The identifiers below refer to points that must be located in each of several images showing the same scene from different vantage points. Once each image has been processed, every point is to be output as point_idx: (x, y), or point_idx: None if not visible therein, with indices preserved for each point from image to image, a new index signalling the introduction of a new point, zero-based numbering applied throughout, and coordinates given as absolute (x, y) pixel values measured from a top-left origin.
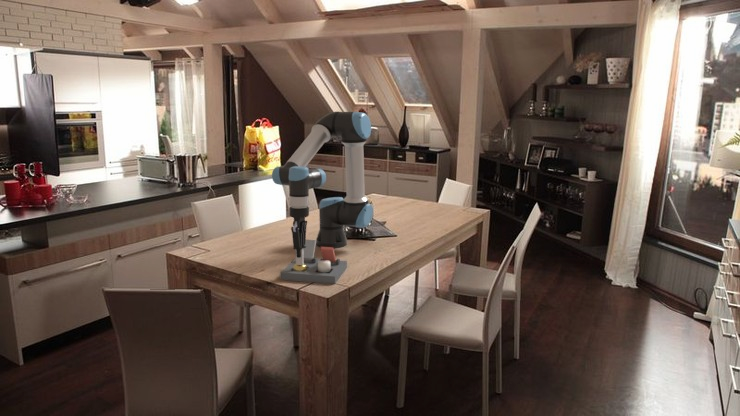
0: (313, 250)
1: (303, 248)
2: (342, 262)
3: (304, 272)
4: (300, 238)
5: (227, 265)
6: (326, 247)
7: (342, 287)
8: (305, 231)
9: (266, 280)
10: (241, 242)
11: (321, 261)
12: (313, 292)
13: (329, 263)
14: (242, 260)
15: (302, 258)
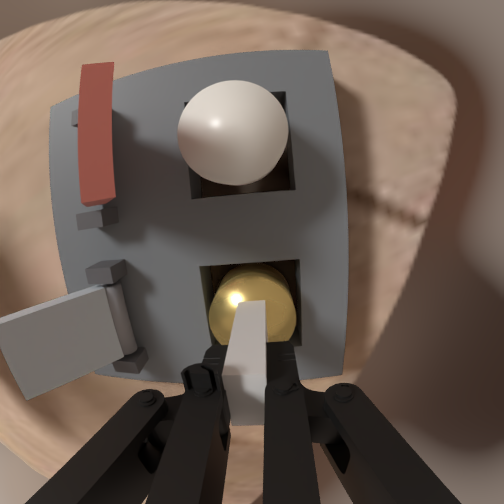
0: (57, 306)
1: (223, 375)
2: (71, 113)
3: (318, 254)
4: (317, 498)
5: (229, 498)
6: (85, 133)
7: (341, 35)
8: (60, 501)
9: None
10: None
11: (225, 156)
12: (439, 147)
13: (245, 82)
14: None
15: (264, 323)
